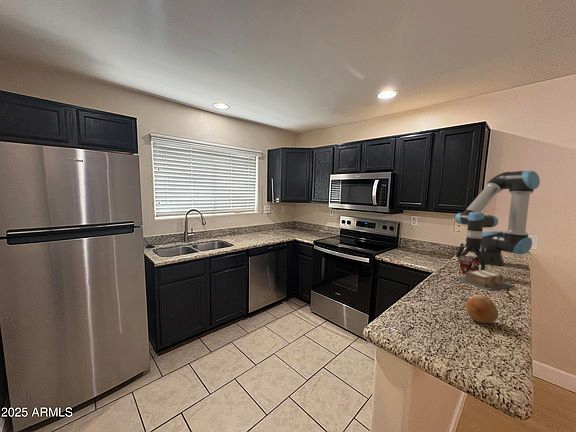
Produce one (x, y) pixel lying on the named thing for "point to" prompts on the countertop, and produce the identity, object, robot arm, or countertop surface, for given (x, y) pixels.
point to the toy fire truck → (468, 263)
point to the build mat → (503, 285)
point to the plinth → (484, 278)
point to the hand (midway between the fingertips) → (470, 271)
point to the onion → (481, 309)
